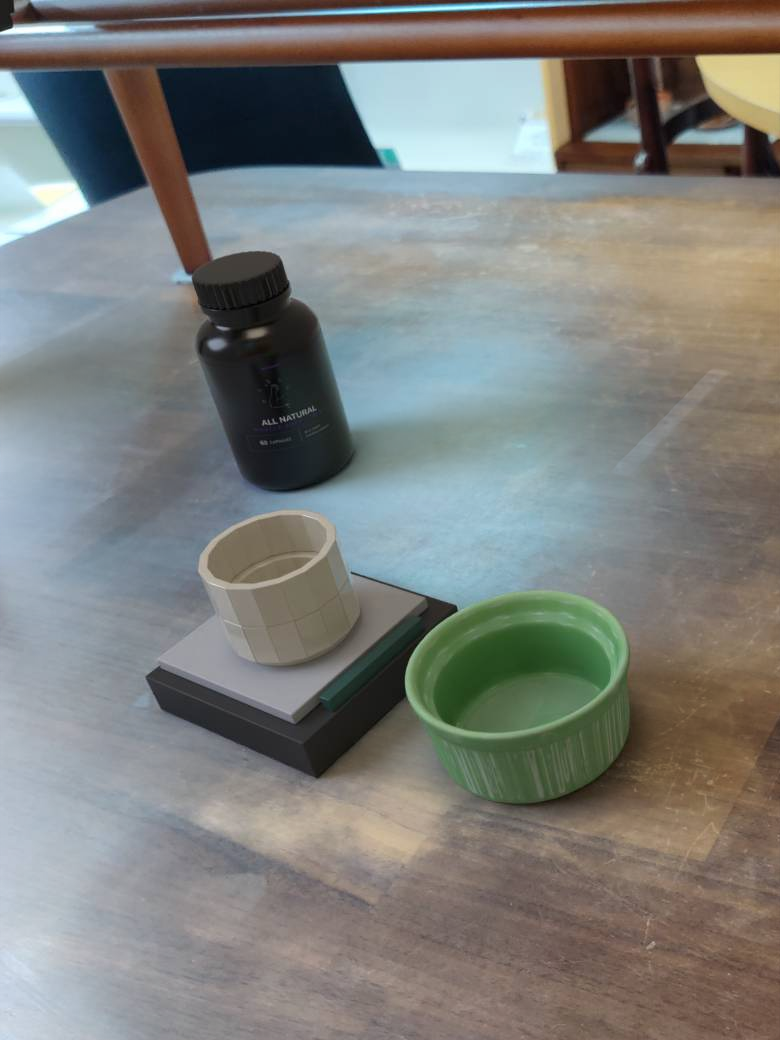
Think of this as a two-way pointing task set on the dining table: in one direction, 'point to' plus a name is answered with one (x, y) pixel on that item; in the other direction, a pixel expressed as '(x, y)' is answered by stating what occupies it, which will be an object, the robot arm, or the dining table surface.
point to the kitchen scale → (301, 681)
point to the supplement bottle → (269, 373)
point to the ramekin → (524, 694)
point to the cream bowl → (281, 587)
